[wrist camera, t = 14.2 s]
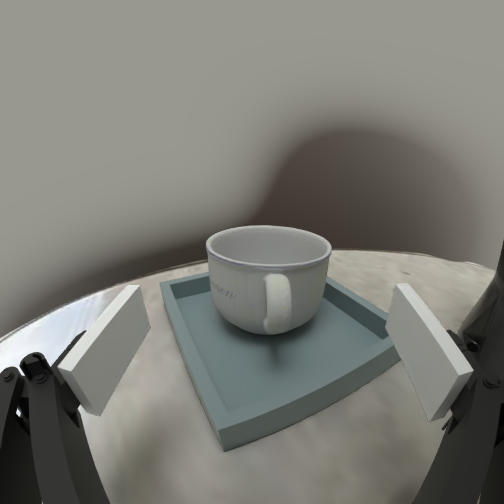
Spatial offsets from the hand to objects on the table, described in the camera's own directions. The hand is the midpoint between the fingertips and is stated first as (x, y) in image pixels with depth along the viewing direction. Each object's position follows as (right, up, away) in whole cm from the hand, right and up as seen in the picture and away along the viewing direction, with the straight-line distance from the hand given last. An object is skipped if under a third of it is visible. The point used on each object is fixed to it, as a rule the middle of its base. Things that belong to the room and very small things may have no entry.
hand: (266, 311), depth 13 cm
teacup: (+1, -4, +12) cm, 13 cm away
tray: (+1, -5, +12) cm, 13 cm away
